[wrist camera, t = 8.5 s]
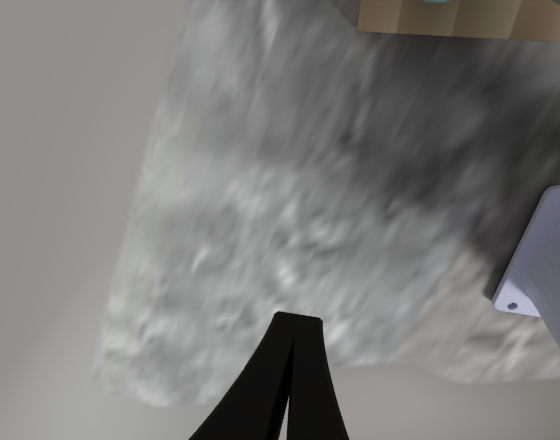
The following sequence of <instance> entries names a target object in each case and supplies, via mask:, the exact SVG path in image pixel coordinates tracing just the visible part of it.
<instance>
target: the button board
mask: <svg viewBox="0 0 560 440" xmlns="http://www.w3.org/2000/svg"><path fill="white" fill-rule="evenodd" d="M356 31H360V32H378V33H397V34H416V35H435V36H453V37H472V38H491V39H509V40H528V41H547V42H560V5H559V4H557V3H555V2H553V1H552V0H453V1H447V2H442V3H427V2H423V1H420V0H360V7H359V14H358V22H357V29H356Z"/></svg>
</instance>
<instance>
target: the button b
mask: <svg viewBox="0 0 560 440" xmlns="http://www.w3.org/2000/svg"><path fill="white" fill-rule="evenodd" d="M420 1H423V2H427V3H442V2H447V1H453V0H420Z"/></svg>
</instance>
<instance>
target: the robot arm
mask: <svg viewBox="0 0 560 440" xmlns="http://www.w3.org/2000/svg"><path fill="white" fill-rule="evenodd" d="M510 303H514V304H512V305H509V304H510ZM492 304H493V306H494V308H495V309H497V310H501V311H507V312H513V313H519V314H526V315H532V316H538V317H541V318H542V319H543V321H544V323H545V324H546V326H547V328H548V329H549V331H550V333H551V334H552V336H553V337H554V339H555V341H556V342H557V344H558V346H559V347H560V185H554V186H551V187H549V188H548V189H546V191H545V192H544V193H543V195H542V197H541V199H540V202H539V204H538V206H537V208H536V210H535V212H534V214H533V216H532V218H531V220H530V222H529V224H528V226H527V228H526V230H525V232H524V234H523V237H522V239H521V241H520V243H519V245H518V247H517V249H516V251H515V253H514V255H513V257H512V259H511V261H510V263H509V265H508V267H507V270H506V272H505V274H504V276H503V278H502V280H501V282H500V284H499V286H498V288H497V290H496V292H495V294H494V296H493V298H492ZM288 398H289V408H288V424H287V439H286V440H349V438H348V435H347V432H346V428H345V425H344V422H343V419H342V416H341V412H340V409H339V406H338V402H337V399H336V395H335V392H334V388H333V383H332V379H331V375H330V371H329V367H328V362H327V357H326V351H325V345H324V337H323V321H322V320H321V319H320V318H318V317H312V316H305V315H299V314H293V313H286V312H280V311H278V312H277V313H275V314H274V317H273V319H272V321H271V323H270V325H269V327H268V329H267V331H266V333H265V335H264V337H263V339H262V340H261V342H260V344H259V346H258V347H257V349H256V351H255V352H254V354H253V355H252V357H251V358H250V360H249V361H248V363H247V365H246V366H245V368H244V369H243V371H242V372H241V374H240V375H239V376H238V378H237V379H236V381H235V382H234V383H233V385H232V386H231V387H230V389H229V390H228V392H227V393H226V394H225V396H224V397H223V398H222V400H221V401H220V402H219V404H218V405H217V406H216V407H215V409H214V410H213V411H212V412H211V414H210V415H209V416H208V417H207V419H206V420H205V421H204V422H203V423H202V425H201V426H200V427H199V428H198V429H197V431H196V432H195V433H194V434H193V435H192V436H191V437H190V438H189V440H278V439H279V435H280V431H281V427H282V422H283V419H284V414H285V410H286V406H287V402H288Z"/></svg>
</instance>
